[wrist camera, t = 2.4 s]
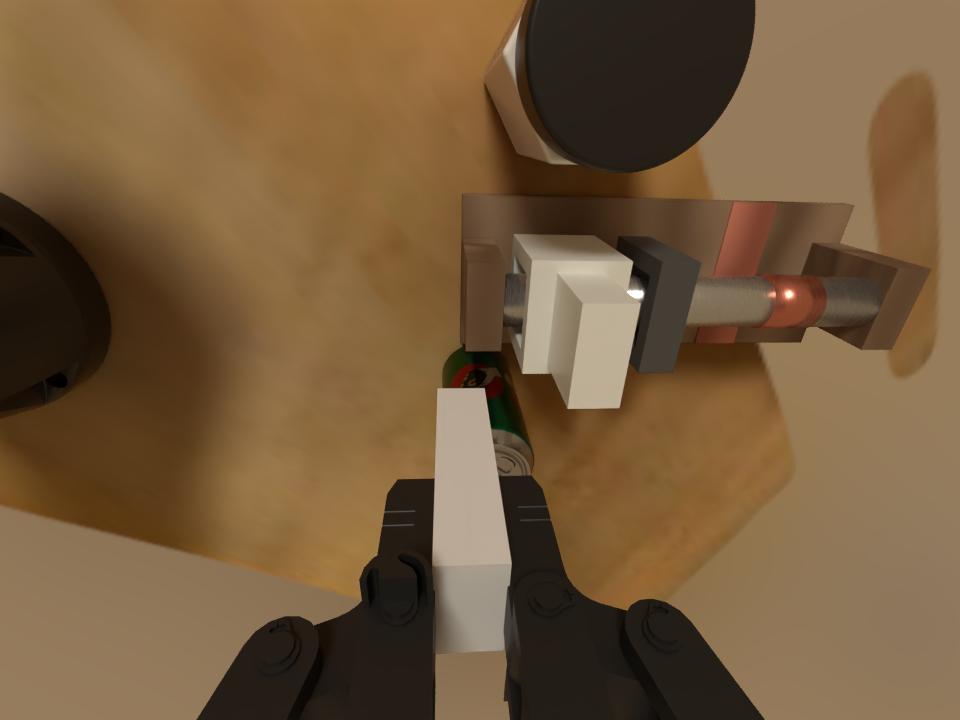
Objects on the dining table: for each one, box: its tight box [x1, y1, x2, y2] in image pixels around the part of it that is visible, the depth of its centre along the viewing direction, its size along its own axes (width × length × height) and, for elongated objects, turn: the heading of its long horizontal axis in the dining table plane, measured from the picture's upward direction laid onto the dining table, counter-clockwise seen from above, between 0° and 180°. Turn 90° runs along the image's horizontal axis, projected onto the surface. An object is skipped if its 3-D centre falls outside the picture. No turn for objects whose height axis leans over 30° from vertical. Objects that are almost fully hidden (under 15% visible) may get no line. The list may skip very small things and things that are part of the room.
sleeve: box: [507, 234, 641, 409], centre depth 24 cm, size 5×6×11 cm
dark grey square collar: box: [616, 236, 702, 373], centre depth 26 cm, size 2×6×6 cm, turn 178°
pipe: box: [503, 273, 882, 328], centre depth 26 cm, size 24×3×3 cm, turn 88°
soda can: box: [442, 346, 534, 476], centre depth 29 cm, size 5×5×12 cm
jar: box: [484, 0, 755, 173], centre depth 21 cm, size 9×8×12 cm
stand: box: [460, 193, 931, 351], centre depth 28 cm, size 26×10×8 cm, turn 88°
